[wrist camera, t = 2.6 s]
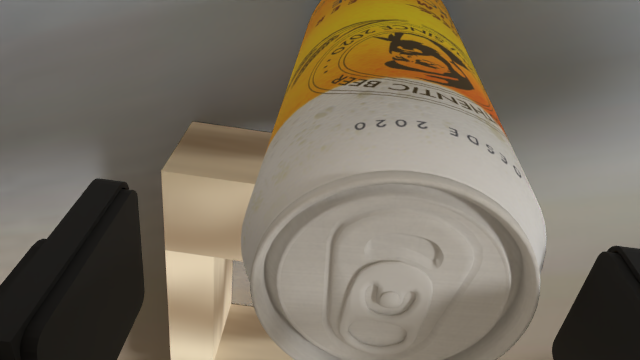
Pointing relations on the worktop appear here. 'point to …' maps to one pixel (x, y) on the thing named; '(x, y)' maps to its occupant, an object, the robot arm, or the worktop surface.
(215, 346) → the socket
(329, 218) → the beer can
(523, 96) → the worktop surface
